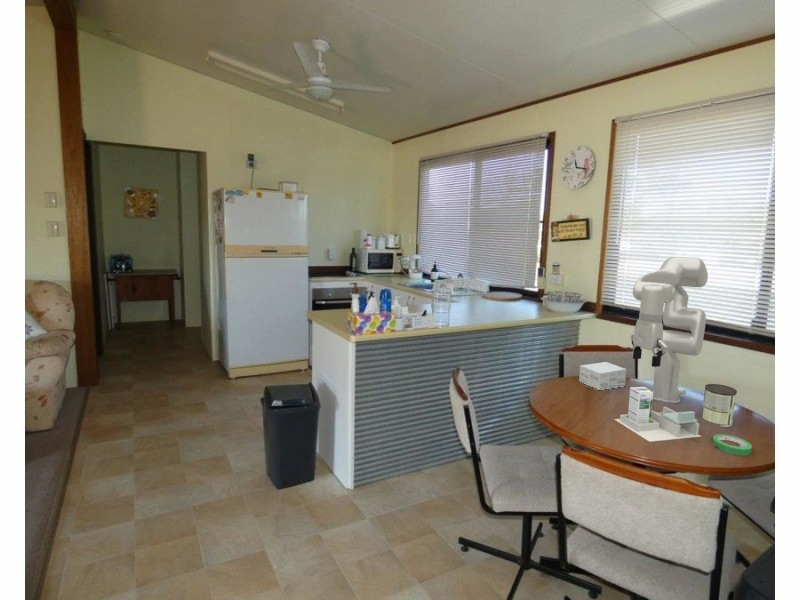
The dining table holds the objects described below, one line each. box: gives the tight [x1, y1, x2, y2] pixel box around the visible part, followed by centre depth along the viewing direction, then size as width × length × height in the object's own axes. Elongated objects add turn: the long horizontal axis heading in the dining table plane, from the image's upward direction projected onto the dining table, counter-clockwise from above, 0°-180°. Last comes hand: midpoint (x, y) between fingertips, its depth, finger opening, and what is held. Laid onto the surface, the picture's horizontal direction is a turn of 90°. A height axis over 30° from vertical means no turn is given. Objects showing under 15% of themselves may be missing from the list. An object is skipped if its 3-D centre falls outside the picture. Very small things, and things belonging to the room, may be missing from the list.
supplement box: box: [578, 361, 627, 391], centre depth 219 cm, size 17×13×9 cm
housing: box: [613, 406, 702, 442], centre depth 170 cm, size 22×19×6 cm
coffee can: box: [701, 383, 738, 428], centre depth 177 cm, size 10×10×14 cm
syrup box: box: [627, 386, 654, 424], centre depth 171 cm, size 6×6×14 cm
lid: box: [662, 410, 698, 424], centre depth 166 cm, size 9×7×4 cm
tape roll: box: [711, 433, 753, 456], centre depth 157 cm, size 11×11×3 cm
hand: (646, 362), depth 168 cm, fingers open, 9 cm apart
